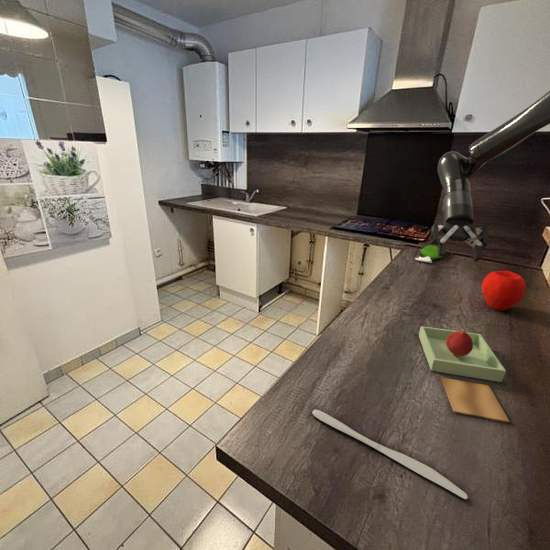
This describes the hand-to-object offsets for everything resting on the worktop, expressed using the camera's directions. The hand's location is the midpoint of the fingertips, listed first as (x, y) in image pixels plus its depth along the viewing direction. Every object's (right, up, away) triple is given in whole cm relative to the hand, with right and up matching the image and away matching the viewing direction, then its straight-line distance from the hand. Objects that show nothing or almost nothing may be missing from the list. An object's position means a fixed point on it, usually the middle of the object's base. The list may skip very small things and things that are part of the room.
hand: (459, 258), depth 81 cm
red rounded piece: (-4, -26, -4) cm, 27 cm away
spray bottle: (+28, +5, +69) cm, 75 cm away
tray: (-4, -26, -4) cm, 27 cm away
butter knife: (-32, -36, -28) cm, 56 cm away
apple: (+25, -16, +20) cm, 36 cm away
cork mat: (-9, -31, -18) cm, 37 cm away
